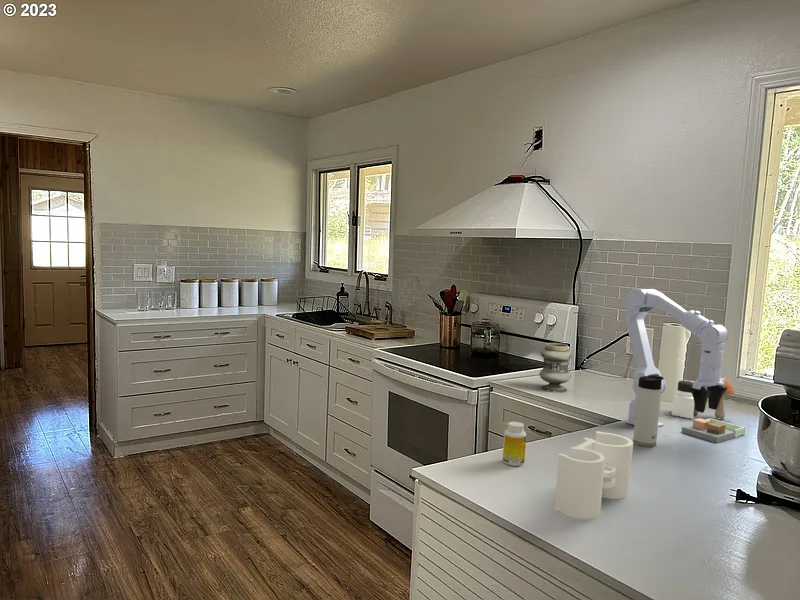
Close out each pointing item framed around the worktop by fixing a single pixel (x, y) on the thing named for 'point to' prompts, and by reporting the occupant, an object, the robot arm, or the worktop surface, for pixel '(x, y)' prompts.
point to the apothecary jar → (555, 366)
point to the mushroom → (720, 410)
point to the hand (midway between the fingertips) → (706, 410)
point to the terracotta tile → (700, 423)
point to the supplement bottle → (514, 444)
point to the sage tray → (731, 427)
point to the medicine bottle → (684, 401)
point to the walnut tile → (716, 428)
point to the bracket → (593, 475)
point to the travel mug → (647, 410)
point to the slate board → (708, 434)
